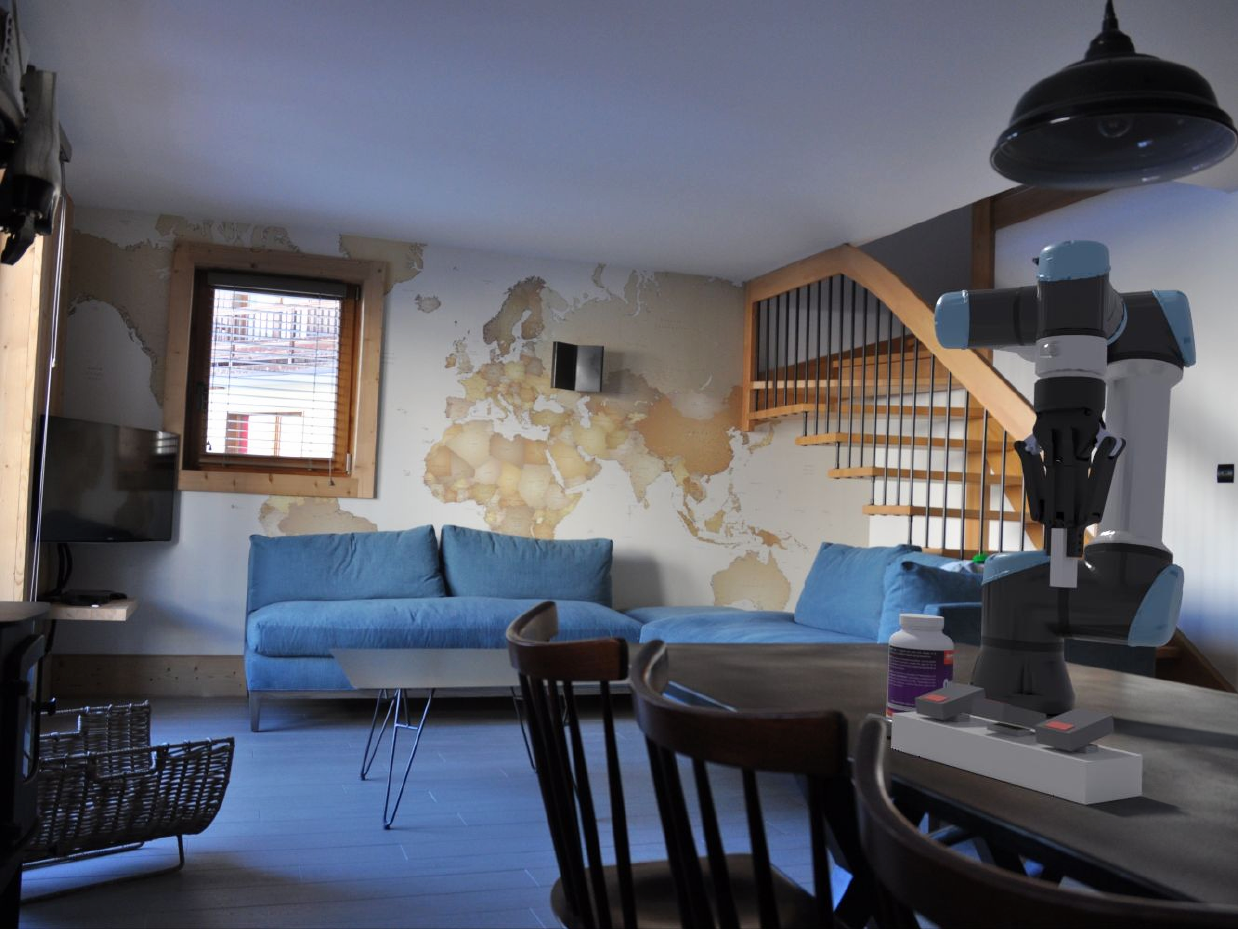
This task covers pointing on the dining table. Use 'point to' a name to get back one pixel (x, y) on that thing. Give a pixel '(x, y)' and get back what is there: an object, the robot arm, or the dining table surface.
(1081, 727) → the rocker
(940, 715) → the rocker
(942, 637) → the pill bottle
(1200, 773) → the dining table surface
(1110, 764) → the power strip
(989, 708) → the rocker
